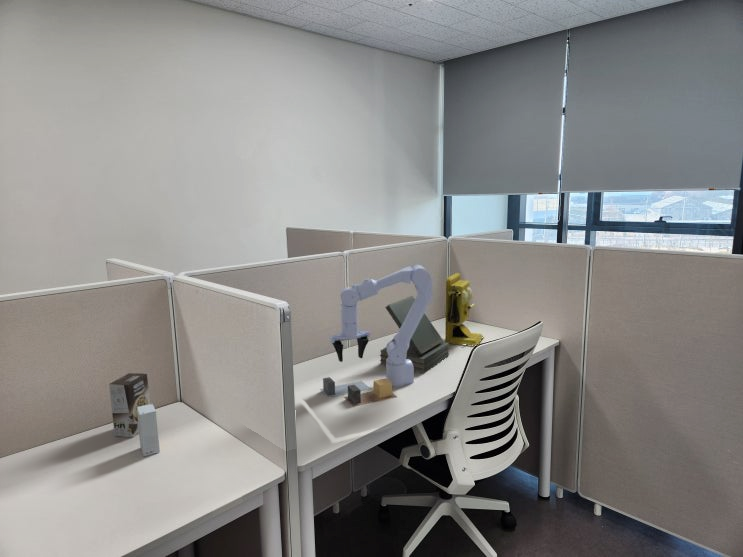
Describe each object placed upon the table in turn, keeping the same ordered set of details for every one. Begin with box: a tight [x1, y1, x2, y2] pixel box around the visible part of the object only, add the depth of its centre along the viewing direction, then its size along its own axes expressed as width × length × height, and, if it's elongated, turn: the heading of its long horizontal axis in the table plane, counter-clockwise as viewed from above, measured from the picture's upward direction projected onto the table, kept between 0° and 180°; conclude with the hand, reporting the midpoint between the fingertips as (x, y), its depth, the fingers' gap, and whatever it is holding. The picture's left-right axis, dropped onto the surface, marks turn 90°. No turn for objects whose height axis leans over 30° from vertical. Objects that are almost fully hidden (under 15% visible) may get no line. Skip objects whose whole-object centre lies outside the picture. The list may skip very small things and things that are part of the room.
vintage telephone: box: [444, 272, 484, 348], centre depth 222 cm, size 31×14×30 cm, turn 155°
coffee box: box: [108, 372, 151, 438], centre depth 144 cm, size 9×6×16 cm
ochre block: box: [373, 377, 393, 398], centre depth 165 cm, size 4×4×4 cm
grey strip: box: [319, 376, 372, 399], centre depth 170 cm, size 16×8×5 cm, turn 116°
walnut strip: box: [344, 385, 398, 407], centre depth 163 cm, size 16×8×5 cm, turn 116°
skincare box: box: [137, 403, 161, 457], centre depth 133 cm, size 6×4×12 cm
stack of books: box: [379, 295, 450, 375], centre depth 198 cm, size 23×20×25 cm
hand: (350, 359), depth 173 cm, fingers open, 7 cm apart
